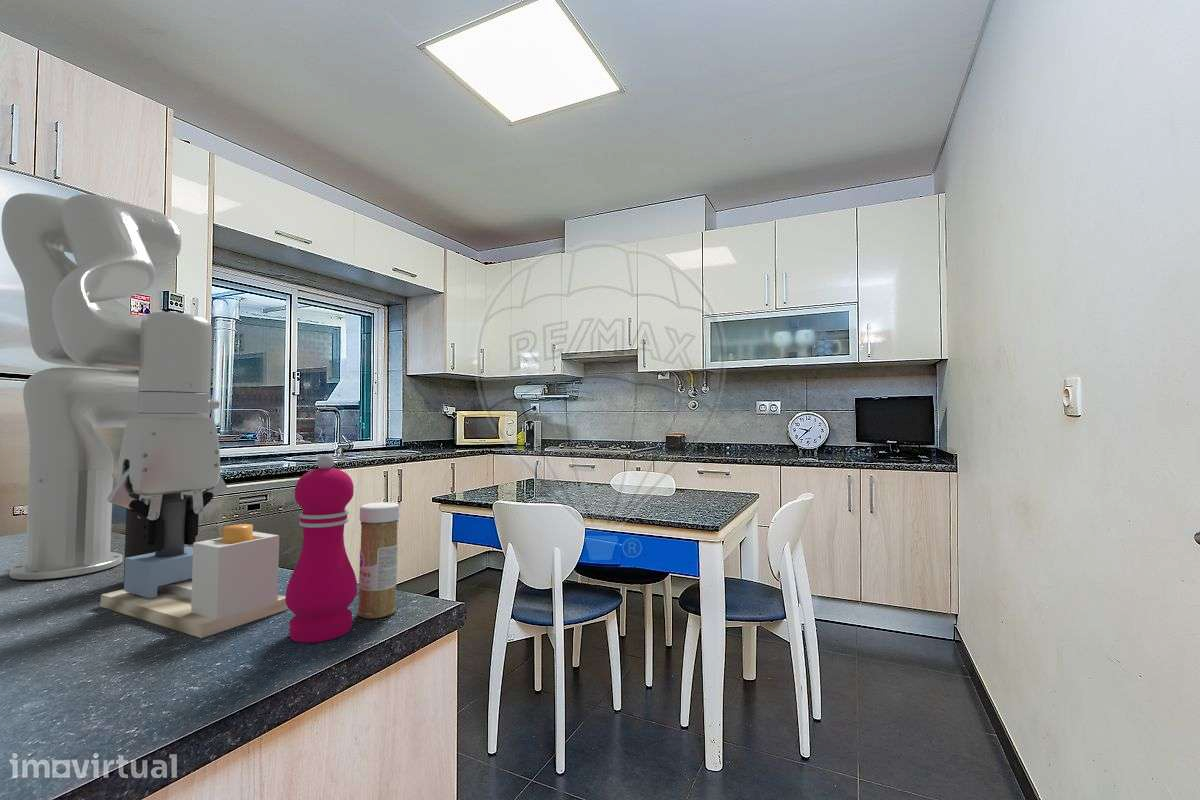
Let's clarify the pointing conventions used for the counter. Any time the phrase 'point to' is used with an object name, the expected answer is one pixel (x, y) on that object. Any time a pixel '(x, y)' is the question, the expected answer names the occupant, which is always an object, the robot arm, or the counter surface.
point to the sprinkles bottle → (378, 559)
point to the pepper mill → (322, 557)
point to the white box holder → (234, 575)
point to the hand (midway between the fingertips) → (170, 545)
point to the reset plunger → (237, 533)
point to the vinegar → (138, 530)
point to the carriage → (162, 556)
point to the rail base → (182, 610)
